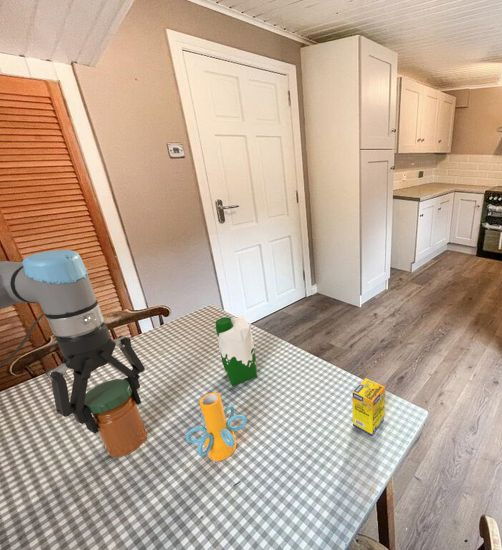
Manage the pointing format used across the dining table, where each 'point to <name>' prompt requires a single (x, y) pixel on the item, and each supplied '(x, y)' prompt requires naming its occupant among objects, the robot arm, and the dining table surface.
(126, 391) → the jar lid
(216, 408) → the orange vase
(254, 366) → the milk carton
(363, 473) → the dining table surface
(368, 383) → the supplement box
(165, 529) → the dining table surface
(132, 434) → the jar
